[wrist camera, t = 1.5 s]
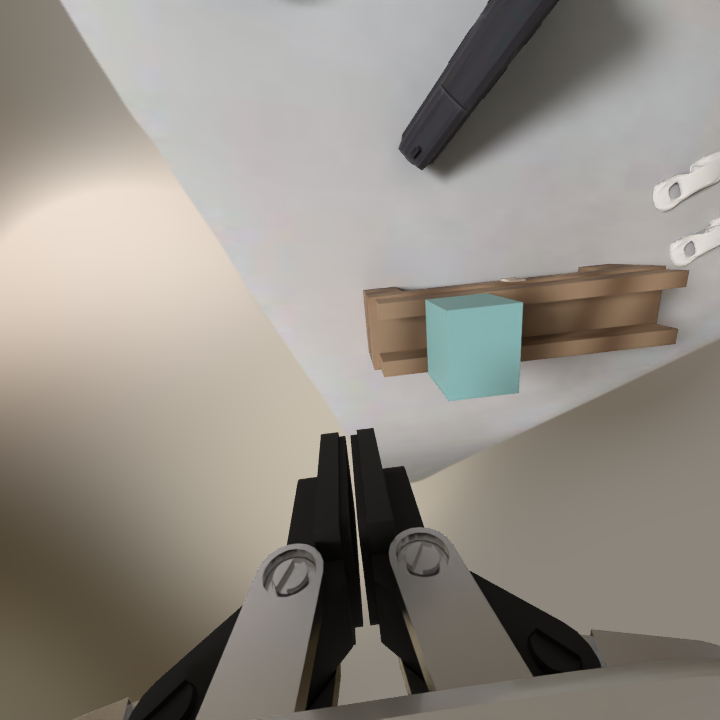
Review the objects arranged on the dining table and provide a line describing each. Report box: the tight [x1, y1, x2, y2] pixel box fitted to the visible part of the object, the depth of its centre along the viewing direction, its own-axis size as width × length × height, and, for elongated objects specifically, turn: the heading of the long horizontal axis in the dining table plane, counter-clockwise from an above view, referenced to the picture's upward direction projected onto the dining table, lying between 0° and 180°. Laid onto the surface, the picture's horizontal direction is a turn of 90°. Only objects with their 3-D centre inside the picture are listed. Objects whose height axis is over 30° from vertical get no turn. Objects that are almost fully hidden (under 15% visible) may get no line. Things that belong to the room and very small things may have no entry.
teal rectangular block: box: [425, 293, 523, 401], centre depth 24 cm, size 4×6×8 cm
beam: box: [363, 264, 689, 377], centre depth 29 cm, size 24×6×8 cm, turn 96°
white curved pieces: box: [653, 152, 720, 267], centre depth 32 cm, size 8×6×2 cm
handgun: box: [398, 0, 559, 170], centre depth 25 cm, size 4×16×12 cm
